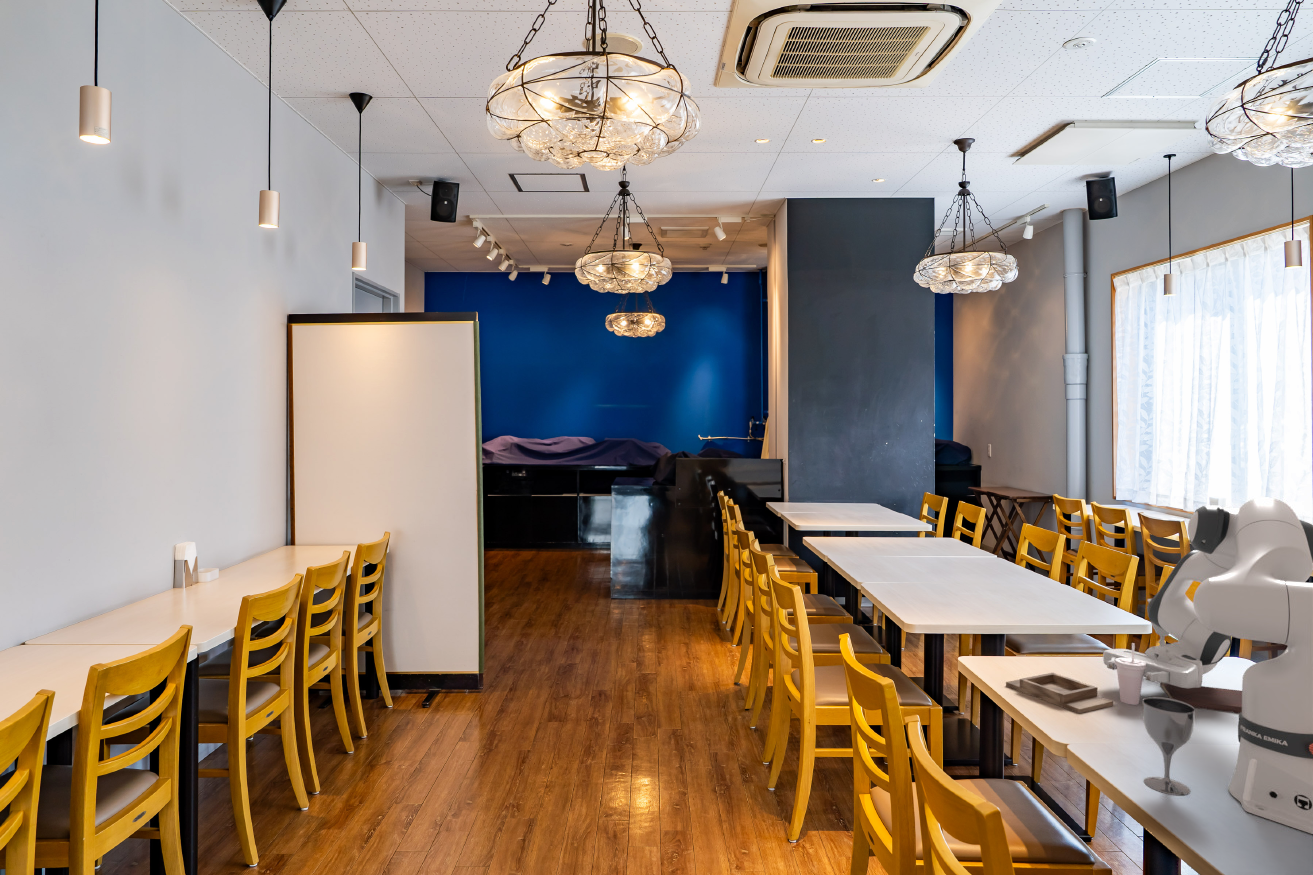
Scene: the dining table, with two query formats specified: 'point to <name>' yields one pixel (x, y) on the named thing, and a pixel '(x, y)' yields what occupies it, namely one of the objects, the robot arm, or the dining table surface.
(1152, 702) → the wine glass
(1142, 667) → the smoothie
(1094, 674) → the dining table surface
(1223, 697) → the notebook
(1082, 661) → the dining table surface
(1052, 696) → the tray
